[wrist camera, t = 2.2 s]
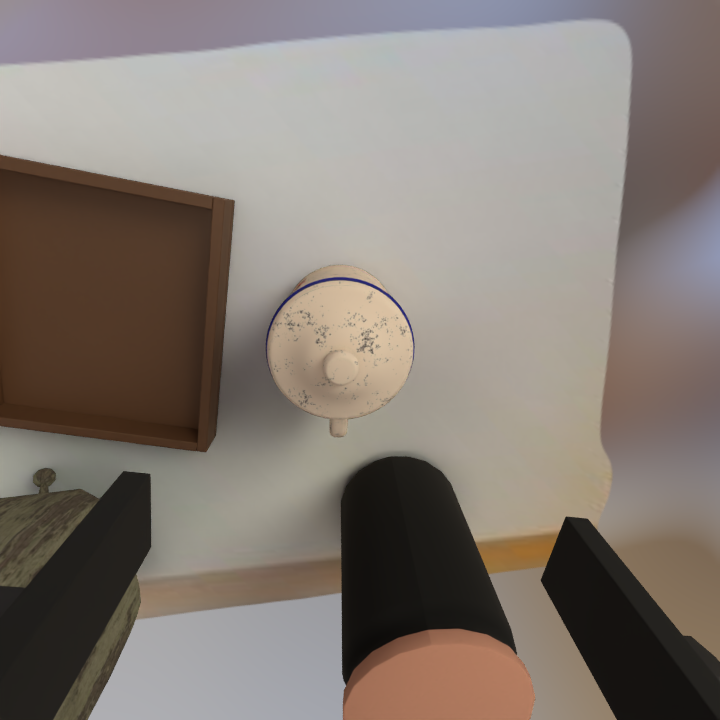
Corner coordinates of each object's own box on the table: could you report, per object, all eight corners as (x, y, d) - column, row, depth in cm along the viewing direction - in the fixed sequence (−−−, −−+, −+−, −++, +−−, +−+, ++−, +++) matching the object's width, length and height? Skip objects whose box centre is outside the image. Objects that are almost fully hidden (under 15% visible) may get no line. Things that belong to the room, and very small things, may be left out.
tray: (0, 406, 34) (-28, 422, 32) (-28, 149, 28) (-67, 142, 25) (216, 435, 36) (206, 452, 33) (234, 200, 30) (224, 199, 27)
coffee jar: (349, 549, 41) (356, 784, 24) (331, 459, 37) (326, 661, 21) (454, 533, 41) (536, 758, 24) (447, 441, 37) (537, 629, 21)
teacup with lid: (282, 258, 31) (251, 283, 20) (400, 263, 32) (432, 289, 21) (285, 401, 35) (261, 486, 24) (390, 403, 36) (412, 486, 25)
